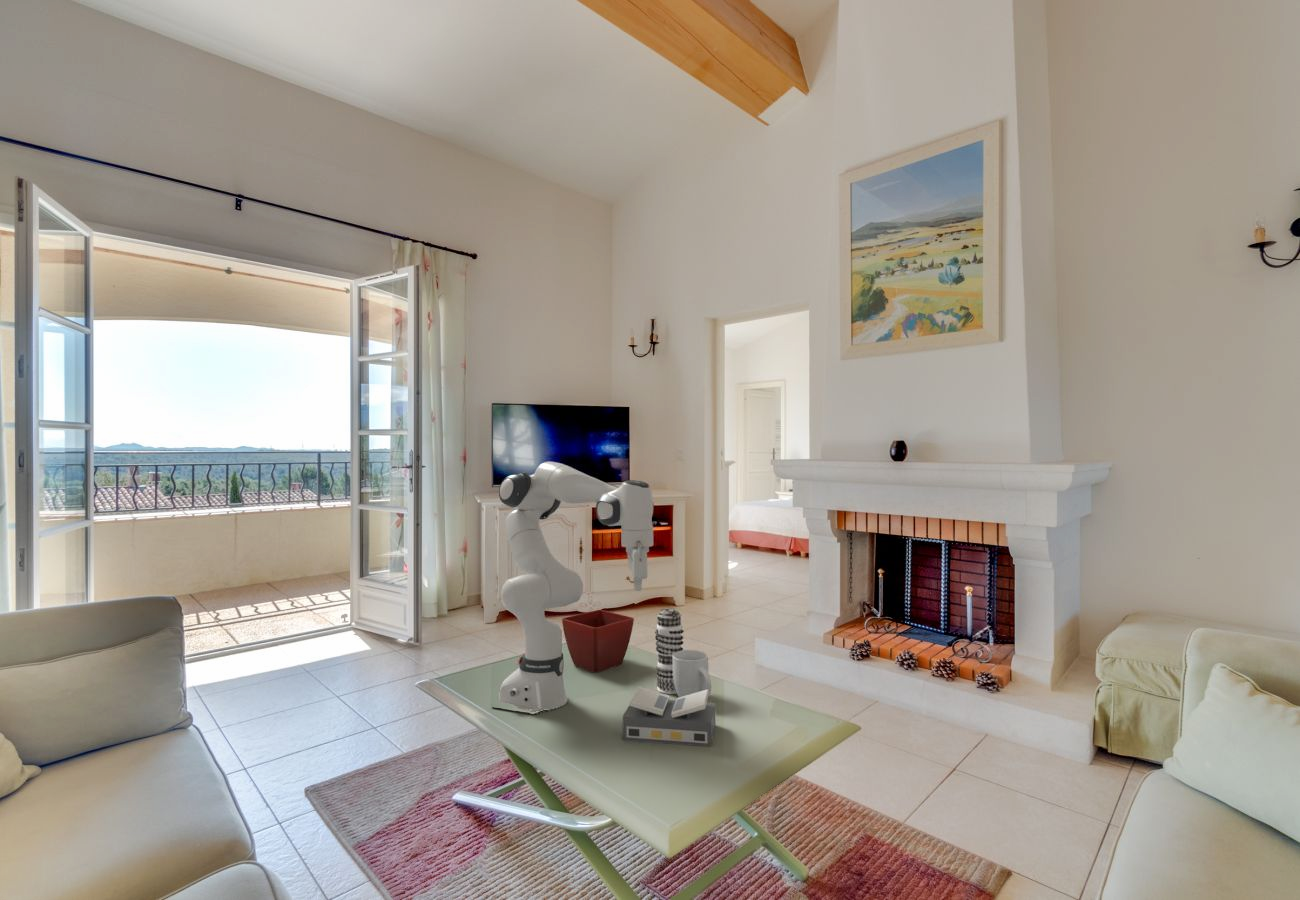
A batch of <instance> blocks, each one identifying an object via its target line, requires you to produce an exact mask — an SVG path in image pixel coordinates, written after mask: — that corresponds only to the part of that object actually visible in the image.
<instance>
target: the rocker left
mask: <svg viewBox="0 0 1300 900" xmlns="http://www.w3.org/2000/svg"><path fill="white" fill-rule="evenodd" d="M668 700H670V695H669V694H664V693H661V692H659V691H654V690H651V689H648V688H644V687H640V686H638V687H637V689H636V690H635V692H634V694H633V696H632V698H631V699H630V701H629V705H628V706H632V707H635V708H639V709H642V710H645V711H648V712H652V713H655V714H658V715H663V713H664V710H665V708H666V705H667V703H668Z"/></svg>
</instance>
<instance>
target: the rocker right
mask: <svg viewBox="0 0 1300 900" xmlns="http://www.w3.org/2000/svg"><path fill="white" fill-rule="evenodd" d="M709 695H710V694H709V691H708V689H707V690H703V691H700V692H697V693H693V694H690V695H686V696H683V697H679V696H678V697H677V698H676V699H675V700H676V702H675V705H674V708H673V710H672V713H671V716H672V718H674V717H678V716H681V715H685V714H688V713H692V712H695V711H699V710H703V709H705V707H706V703H707V702H708V699H709Z"/></svg>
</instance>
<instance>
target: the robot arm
mask: <svg viewBox="0 0 1300 900" xmlns="http://www.w3.org/2000/svg"><path fill="white" fill-rule="evenodd" d="M498 497H499V500H500V502H501V503H502V504H503V505H505V506H507V507H509V508H514V510H513V511H511V512H510V513H509V514H508V515H507V516H506V518H505V532H506V537H507V538H506V539H507V543H508V545H509V548H510V551H511V555H512V559H513V561H514V564H515V565H516V567H517V568H518V569H519V570H521V571H522V572H523V571H524V573H528V574H521V575H520V574H519V575H518V576H514V577H511V578H509V579H507V580H506V581H505V582H504V583H503V585H502V587H501V591H500V592H501V593H500V598H501V599H500V601H501V603H502V605H503V606H504V609H506V610H507V611H508V612H510V613H511V614H513V615H514V617H516V619H517V620H518V621H519V622H520V625H521V627H522V630H523V638H524V640H523V641H524V653H522V656H520V657H519V659H518V660H517V664H516V665H517V666H519V667H517V669H515V670H514V671H513V672H512V673H510V674H509V675H508V676H506V678H505V679H504V680H503V682H502V683H501V685H500V689H499V693H498V694H499V701H501V702H505V703H509V704H513V705H515V706H516V707H517V706H518V707H517V708H519V709H522V710H526V711H530V712H536V711H541V710H544V709H553V710H555V709H554V708H556V709H559V708H561V707H564V706H565V705H566V704H567V702H568V699H569V698H568V696H567V693H566V687H565V684H564V683H565V682H564V676H563V675H564V674H563V673H564V667H565V666H564V665H565V664H564V663H565V662H564V661H565V660H564V653H563V646H562V645H563V644H562V643H563V642H562V640H563V639H562V637H563V635H562V634H563V633H562V629H561V627H560V625H559V624H558V623H557V622H555V621H553V620H551V619H547V618H546V615H545V611H546V610H549V609H556V608H562V607H566V606H569V605H573V604H574V603H577V602H578V601H579V600H580V599H581V598H582V595H583V592H584V584H583V580H582V578H581V576H580V574H579V573H577V572H576V571H574V570H572V569H570V568H567V567H566V566H564V565H563V564H561V563H560V562H559V561H558V560H557V559H556V558H555V556H554V555H553V554H552V552H551V551H550V549H549V546H548V544H547V542H546V539H545V537H544V535H543V531H542V529H541V526H540V520H547V519H548V518H549V517H550V516H551V515H553V514H554V513H555V512H556V511H557V509H558V508H559V507H560V506H561V503H562V502H563V503H567V504H586V503H587V504H588V503H591V504H592V503H596V505H595V513H596V517H597V519H598V521H599V522H600V523H601V524H602V525H604V526H608V527H615V526H621V528H620V529H621V532H620V533H621V534H620V537H621V538H620V539H621V540H620V541H621V543H620V544H621V545H620V546H621V547H623V548H625V552H626V555H627V563H628V568H629V570H630V571H631V572H630V573H631V575H632V577H633V587H634V590H635V591H636V592H640V591H642V588H643V587H642V584H643V580H646V579H647V578H648V553H649V552H650V547H653V546H654V526H653V523H652V521H653V520H652V517H653V514H654V509H655V506H654V502H653V494H652V489H651V486H650V484H649V483H647V482H645V481H643V480H642V481H641V480H631V479H630V480H625V481H623V482H622V483H621V485H620V486H617V485H614V484H612V483H608V482H605V481H603V480H600V479H598V478H596V477H593V476H590V475H588V474H586V473H584V472H582V471H579V470H577V469H576V468H573V467H572V466H569V465H566V464H564V463H560V462H555V461H544V462H542V463H541V464H539V465H538V466H537V468H536V469H535V472H534V473H532V474H528V473H527V472H525V471H524V472H521V473H518V474H510V475H508V476H507V477H505V478H504V479H503V480H502V481H501V483H500V485H499V489H498ZM560 706H561V707H560ZM558 707H559V708H558ZM527 709H528V710H527ZM529 709H532V710H529Z"/></svg>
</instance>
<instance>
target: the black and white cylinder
mask: <svg viewBox="0 0 1300 900" xmlns="http://www.w3.org/2000/svg"><path fill="white" fill-rule="evenodd" d="M681 616H682V613H680V611H679V610H677V609H676V608H662V609H661V610H659V612H658V613H657V614H656V617H657V619H656V620H657V624H656V629H655V631H654V634H655V636H654V637H655V640H656V641H655V645H656V647H655V651H656V653H657V666H656V671H657V672H656V676H657V677H656V686H657V688H656V689H657V690H656V692H658V693H661V694H665V695H674V694H677V692H676V689H675V685H674V680H673V668H672V667H673V665H672V662H673V660H672V656H673V654H674V653H675V652H678V651H682V650H684V648H683V647H682V645H683V644H684V641H683V639H684V636H683V635H682V634H684V632H685V630H683V626H682V621H681V618H682V617H681Z"/></svg>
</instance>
